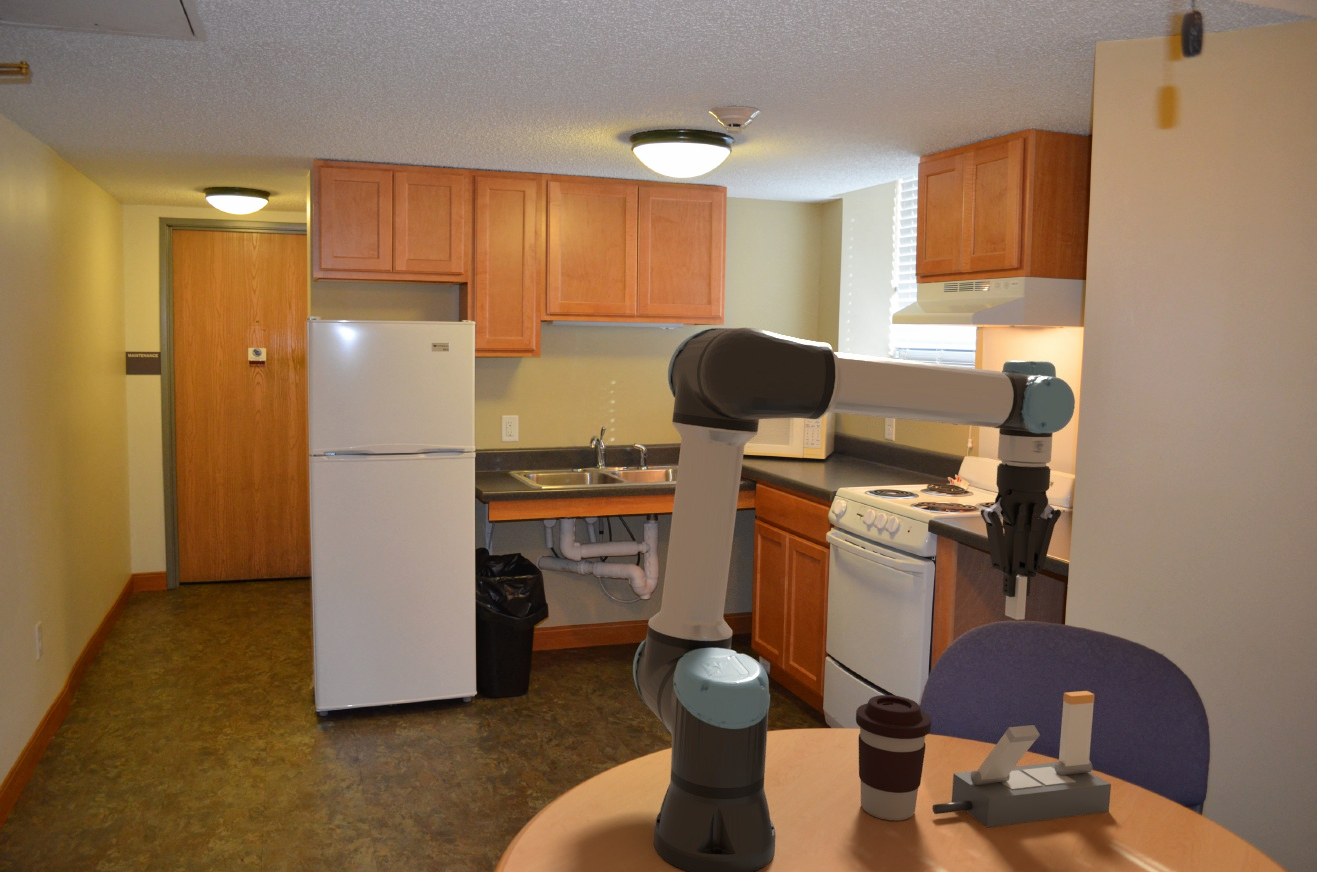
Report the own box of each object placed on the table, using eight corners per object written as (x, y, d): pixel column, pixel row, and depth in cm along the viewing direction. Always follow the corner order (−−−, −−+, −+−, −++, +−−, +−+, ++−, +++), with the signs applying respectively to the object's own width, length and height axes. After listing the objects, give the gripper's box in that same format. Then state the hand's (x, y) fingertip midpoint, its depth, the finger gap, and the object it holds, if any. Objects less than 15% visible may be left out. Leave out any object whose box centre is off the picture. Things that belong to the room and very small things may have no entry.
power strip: (951, 831, 127) (954, 801, 127) (917, 804, 135) (919, 775, 134) (1108, 811, 135) (1111, 782, 135) (1068, 786, 143) (1070, 759, 142)
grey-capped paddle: (974, 787, 132) (1011, 738, 125) (968, 775, 134) (1004, 726, 127) (1005, 783, 134) (1043, 735, 127) (999, 772, 135) (1036, 723, 128)
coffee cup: (927, 831, 127) (934, 720, 126) (850, 821, 129) (857, 711, 128) (922, 798, 137) (929, 694, 136) (850, 789, 139) (857, 687, 138)
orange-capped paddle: (1062, 777, 136) (1069, 696, 135) (1054, 771, 138) (1060, 692, 137) (1091, 774, 137) (1098, 694, 137) (1082, 768, 139) (1089, 690, 138)
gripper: (1002, 466, 140) (993, 626, 142) (1077, 466, 144) (1067, 621, 146) (971, 460, 148) (963, 612, 150) (1043, 460, 151) (1034, 608, 153)
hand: (1014, 616), depth 148 cm, fingers closed
